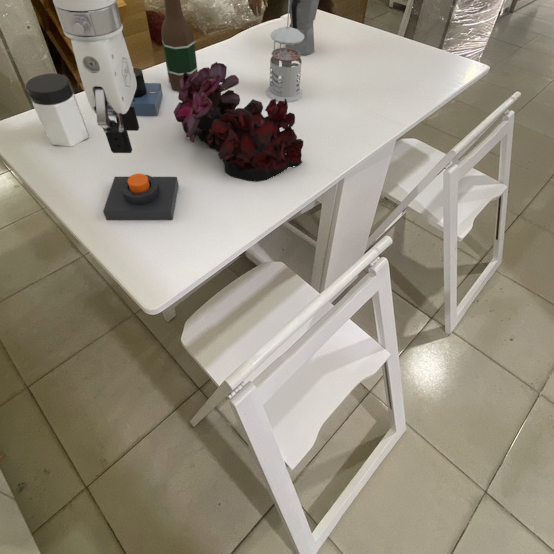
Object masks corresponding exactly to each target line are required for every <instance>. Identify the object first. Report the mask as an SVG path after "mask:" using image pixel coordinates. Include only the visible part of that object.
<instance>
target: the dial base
mask: <svg viewBox="0 0 554 554" xmlns="http://www.w3.org/2000/svg"><path fill="white" fill-rule="evenodd" d="M145 86H146V91H147V93H146V94H145V95H144V96H142V97H137V98H133V106H130V107H134V109H135V113H136V117H138V116H141V117H143V116H145V117H147V116H148V117H149V116H150V117H158V114H159V110H160V107H161V102H162V100H163V96H164V95H163V89H162V83H160V82H158V83H157V82H145ZM108 109H113V108H112V107H111V106H108Z"/></svg>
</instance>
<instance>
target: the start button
mask: <svg viewBox="0 0 554 554" xmlns="http://www.w3.org/2000/svg"><path fill="white" fill-rule="evenodd" d="M146 175H147V174H144V173H135V174H132V175H129V176H128V177H129V178H128V185H129V188H130V190H131V191H132V192H133V193H142V192H145V191H147V190H148V189H149V188H150V184H149V181H148V177H147V176H146Z"/></svg>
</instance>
